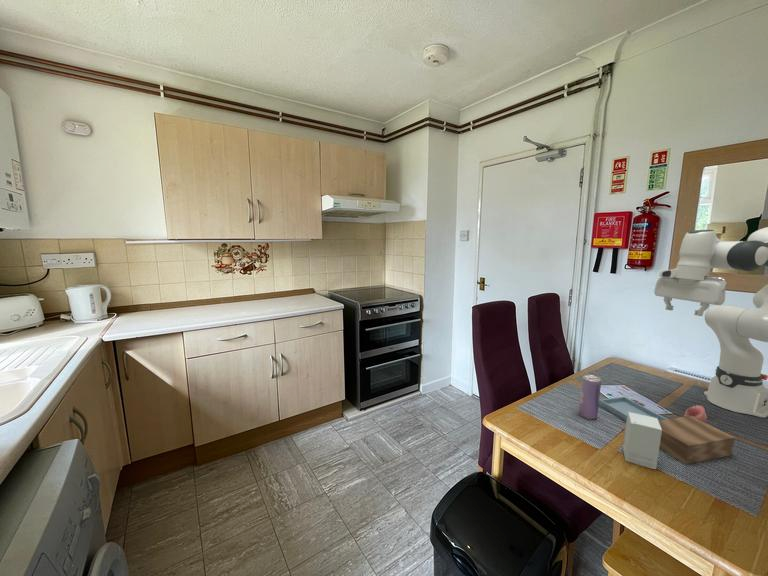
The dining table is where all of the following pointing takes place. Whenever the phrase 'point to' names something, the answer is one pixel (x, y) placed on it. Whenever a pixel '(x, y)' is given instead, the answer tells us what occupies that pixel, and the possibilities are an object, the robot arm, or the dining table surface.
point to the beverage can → (589, 396)
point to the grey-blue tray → (626, 408)
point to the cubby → (694, 440)
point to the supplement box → (642, 440)
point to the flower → (696, 413)
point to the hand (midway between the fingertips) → (683, 312)
